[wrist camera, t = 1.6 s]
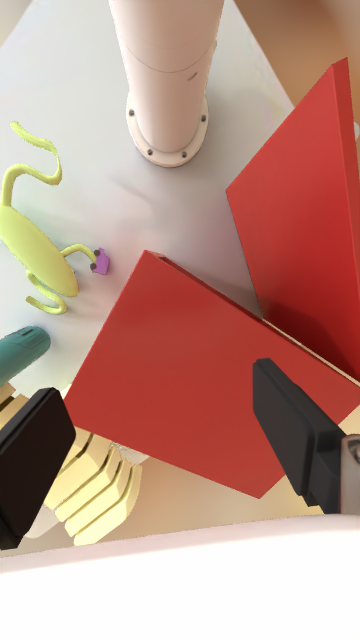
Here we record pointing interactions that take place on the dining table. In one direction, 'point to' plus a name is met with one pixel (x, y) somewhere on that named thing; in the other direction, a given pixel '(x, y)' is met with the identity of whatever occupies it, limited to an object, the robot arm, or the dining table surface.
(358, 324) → the fridge door
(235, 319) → the box
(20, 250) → the figurine
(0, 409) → the slatted curved stool
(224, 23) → the dining table surface
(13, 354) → the beverage bottle
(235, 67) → the dining table surface
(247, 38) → the dining table surface
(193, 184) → the dining table surface
